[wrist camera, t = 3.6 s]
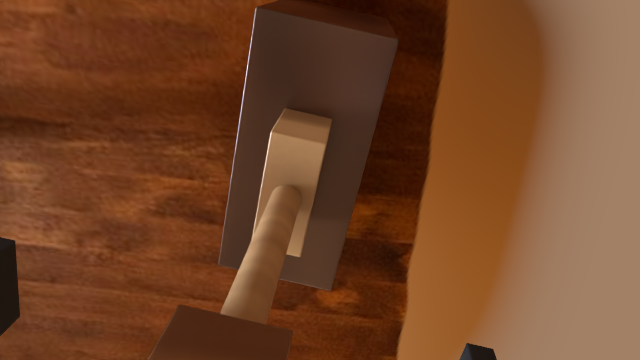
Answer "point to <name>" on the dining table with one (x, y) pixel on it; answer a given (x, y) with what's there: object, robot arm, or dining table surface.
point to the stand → (313, 98)
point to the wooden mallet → (259, 255)
